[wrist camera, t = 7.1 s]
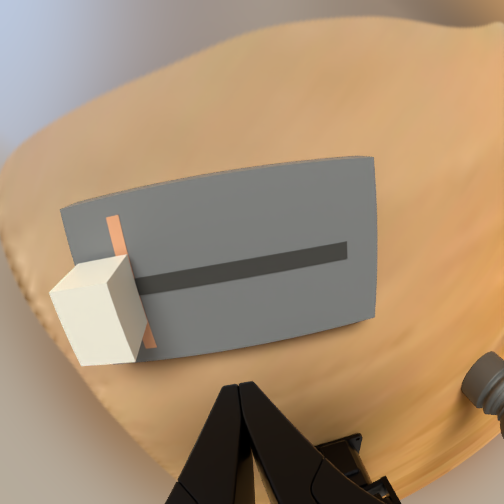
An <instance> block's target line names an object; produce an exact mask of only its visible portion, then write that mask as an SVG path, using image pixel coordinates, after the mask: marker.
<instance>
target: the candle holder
mask: <svg viewBox="0 0 504 504" xmlns="http://www.w3.org/2000/svg"><path fill="white" fill-rule="evenodd" d="M461 389H462V392H463V393H464V394H465V395H466V396H467V397H468V399H469V400H470V401H471V402H472V403H473V404H474V405H475V406H476V407H477V408H483V411H484V413H485V414H491V415H497V416H498V421H500V429H501V434H502V437H503V438H504V360H503V359H502V358H500V357H499V356H498V355H497V354H496V353H494V352H492V351H491V352H489V353H486V354H485V355H483V356H482V357H481V358H480V359H479V360H478V361H477V362H476V363H475V364H474V365H473V366H472V367H471V369H470V370H469V372H468V373H467V374H466V376H465V378H464V380H463V382H462V387H461Z"/></svg>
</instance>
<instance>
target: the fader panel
mask: <svg viewBox="0 0 504 504" xmlns="http://www.w3.org/2000/svg"><path fill="white" fill-rule="evenodd" d="M60 212H61V216H62V220H63V224H64V228H65V232H66V236H67V240H68V243H69V247H70V251H71V254H72V257H73V261H74V264H75V266H76V265H77V264H79V263H84V262H89V261H94V260H99V259H105V258H110V257H115V256H120V255H125V254H127V255H128V259H129V262H130V266H131V270H132V273H133V277H134V280H135V284H136V287H137V290H138V294H139V297H140V300H141V303H142V307H143V310H144V313H145V316H146V319H147V325H146V329H145V332H144V335H143V338H142V342H141V345H140V349H139V352H138V355H137V359H136V362H146V361H155V360H163V359H172V358H179V357H187V356H194V355H201V354H207V353H214V352H220V351H226V350H232V349H238V348H243V347H249V346H254V345H260V344H265V343H270V342H275V341H280V340H284V339H289V338H294V337H298V336H303V335H307V334H312V333H316V332H320V331H324V330H328V329H332V328H336V327H340V326H344V325H348V324H352V323H356V322H359V321H363V320H367V319H370V318H374V317H375V305H376V284H377V204H376V184H375V169H374V157H367V156H348V157H335V158H324V159H314V160H304V161H295V162H286V163H278V164H270V165H262V166H255V167H248V168H241V169H235V170H228V171H222V172H216V173H210V174H204V175H198V176H193V177H187V178H182V179H177V180H172V181H167V182H162V183H157V184H152V185H147V186H143V187H138V188H134V189H129V190H125V191H121V192H116V193H112V194H108V195H104V196H100V197H96V198H92V199H88V200H84V201H81V202H77V203H74V204H71V205H69V206H67V207H65V208H62V209H60ZM136 362H129V363H136ZM118 364H125V363H118Z"/></svg>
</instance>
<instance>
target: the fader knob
mask: <svg viewBox="0 0 504 504" xmlns="http://www.w3.org/2000/svg"><path fill="white" fill-rule="evenodd" d="M49 294H50V296H51V299H52V302H53V304H54V307H55V309H56V312H57V314H58V317H59V319H60V321H61V324H62V326H63V328H64V331H65V333H66V335H67V337H68V340H69V342H70V344H71V346H72V348H73V350H74V352H75V354H76V356H77V358H78V360H79V362H80V364H81V366H90V365H105V364H118V363H129V362H136V359H137V355H138V352H139V349H140V345H141V342H142V338H143V335H144V332H145V329H146V325H147V319H146V316H145V313H144V310H143V307H142V303H141V300H140V297H139V294H138V290H137V287H136V284H135V280H134V277H133V273H132V270H131V266H130V262H129V259H128V255H127V254H125V255H120V256H115V257H110V258H105V259H99V260H94V261H89V262H84V263H79V264H77V265H76V266H75V267H74V268H73V269H72V270H71V271H70V272H69V273H68V274H67V275H66V276H65V277H64V278H63V279H62V280H61V281H60V282H59V283H58V284H57V285H56V286H55V287H54V288H53V289H52V290H51V291H50V292H49Z"/></svg>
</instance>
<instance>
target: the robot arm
mask: <svg viewBox="0 0 504 504" xmlns="http://www.w3.org/2000/svg"><path fill="white" fill-rule="evenodd" d="M361 442H362V435H361V434H355V435H352V436H349V437H346V438H343V439H340V440H336V441H333V442H330V443H326V444H323V445H319V446H315V447H314V446H313V445H312V444H311V443H310V442H309V441H308V440H307V439H306V438H305V437H304V436H303V435H302V434H301V433H300V432H299V431H298V429H297V428H296V427H295V426H294V425H293V424H292V423H291V422H290V421H289V420H288V419H287V418H286V417H285V416H284V415H283V414H282V413H281V411H280V410H279V409H278V408H277V407H276V406H275V405H274V404H273V403H272V402H271V401H270V399H269V398H268V397H267V396H266V395H265V394H264V393H263V392H262V390H261V389H260V388H259V387H258V386H257V385H256V384H255V383H254V382H253V381H250V382H244V383H240V384H239V385H237V384H232V385H226V386H223V387H222V388H221V391H220V393H219V395H218V397H217V399H216V401H215V403H214V405H213V408H212V410H211V412H210V414H209V416H208V418H207V420H206V422H205V424H204V427H203V429H202V431H201V433H200V435H199V437H198V439H197V441H196V443H195V445H194V447H193V449H192V451H191V453H190V455H189V458H188V460H187V462H186V464H185V466H184V468H183V470H182V472H181V474H180V476H179V478H178V482H176V484H175V485H174V488H173V489H172V492H171V493H170V495H169V497H168V499H167V501H166V502H165V504H255V490H254V472H253V457H252V453H253V456H254V459H255V462H256V465H257V468H258V471H259V473H260V476H261V479H262V481H263V484H264V487H265V489H266V492H267V494H268V497H269V500H270V502H271V504H401V502H400V500H399V498H398V497H397V495H396V493H395V491H394V490H393V488H392V486H391V484H390V483H389V481H388V479H387V477H386V476H383V477H381V478H380V479H379V480H377V481H375V482H373V483H372V481H371V479H370V477H369V475H368V473H367V471H366V469H365V467H364V465H363V463H362V461H361V458H360V456H359V451H360V446H361ZM251 449H252V450H251ZM385 495H386V496H387V497H385V498H382V497H383V496H385Z"/></svg>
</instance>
